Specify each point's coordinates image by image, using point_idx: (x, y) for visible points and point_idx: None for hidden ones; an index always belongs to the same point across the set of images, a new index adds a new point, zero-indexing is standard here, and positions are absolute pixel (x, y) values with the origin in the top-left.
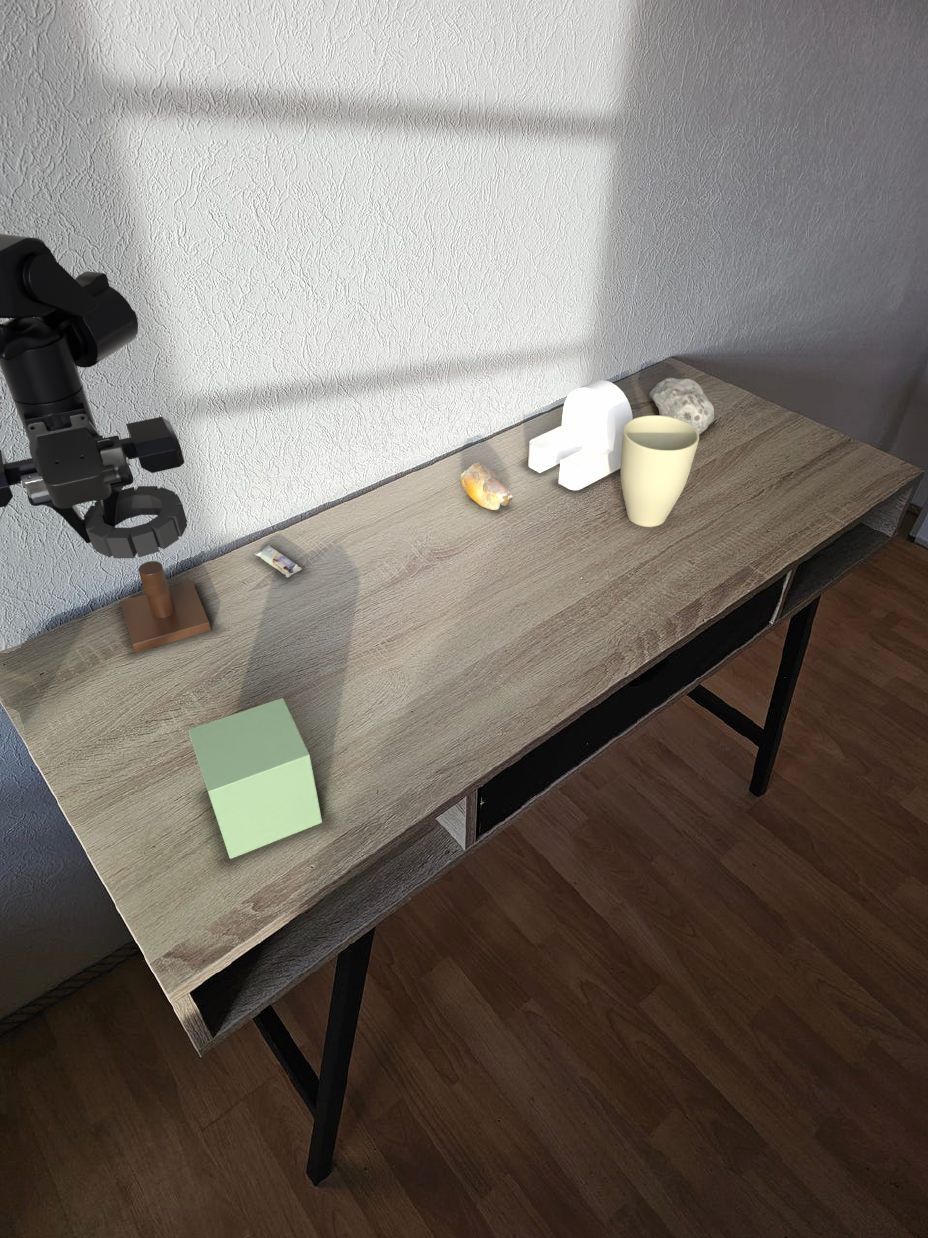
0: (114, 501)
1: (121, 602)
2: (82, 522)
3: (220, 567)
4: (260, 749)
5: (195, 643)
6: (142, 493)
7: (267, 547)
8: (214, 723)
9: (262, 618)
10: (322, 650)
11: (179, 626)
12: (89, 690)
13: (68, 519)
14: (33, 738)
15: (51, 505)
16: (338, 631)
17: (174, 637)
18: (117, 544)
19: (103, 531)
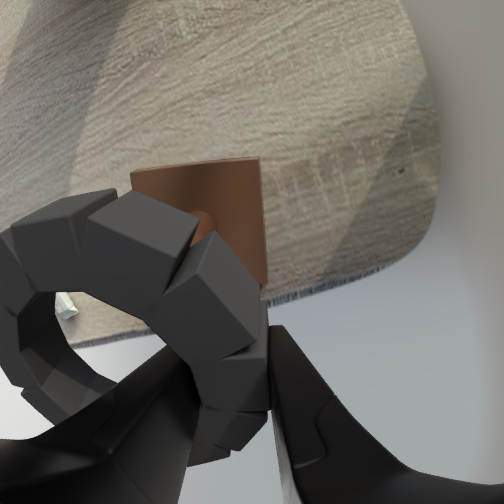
0: (81, 417)
1: (265, 279)
2: (271, 389)
3: None
4: None
5: (162, 146)
6: None
7: (64, 316)
8: None
9: (70, 174)
10: (21, 89)
11: (175, 178)
12: (339, 97)
13: (327, 402)
14: (416, 42)
15: (422, 484)
16: (4, 122)
17: (190, 163)
18: (147, 224)
19: (190, 313)
